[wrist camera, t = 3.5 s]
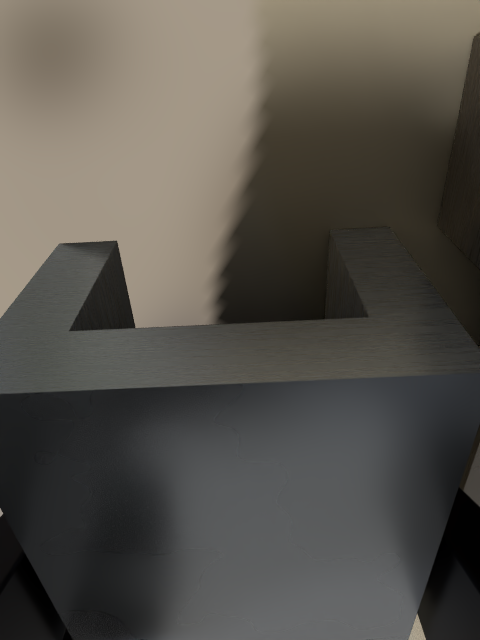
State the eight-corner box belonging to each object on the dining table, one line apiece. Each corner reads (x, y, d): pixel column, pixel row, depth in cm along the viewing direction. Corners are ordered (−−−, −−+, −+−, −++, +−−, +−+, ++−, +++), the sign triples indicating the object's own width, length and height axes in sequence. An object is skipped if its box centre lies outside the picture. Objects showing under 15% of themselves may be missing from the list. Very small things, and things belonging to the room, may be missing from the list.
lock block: (139, 524, 14) (106, 701, 10) (59, 243, 9) (-61, 396, 5) (350, 517, 13) (390, 693, 10) (389, 226, 9) (497, 372, 5)
